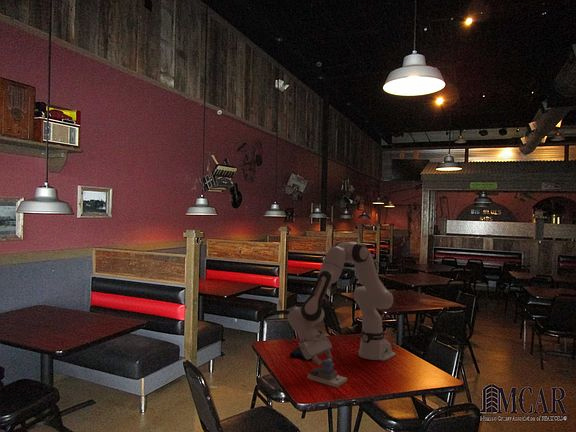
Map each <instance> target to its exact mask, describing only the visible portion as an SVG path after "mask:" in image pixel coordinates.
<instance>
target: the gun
mask: <svg viewBox="0 0 576 432" xmlns="http://www.w3.org/2000/svg"><path fill="white" fill-rule="evenodd" d="M289 354H290V355H289V356H290V358H297V359H300V360H303V361H307V362H311V361H313V359H312V358H311V359H308V360H307V359H306V358H305V357H304V355H303V353H302V351H301V349H300V346H298V347H296V348H295V349H294V350H293V351H292V352H290V353H289Z"/></svg>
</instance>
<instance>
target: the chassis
mask: <svg viewBox="0 0 576 432" xmlns="http://www.w3.org/2000/svg"><path fill="white" fill-rule="evenodd" d="M306 378H307V380H311V381H314V382H317V383H321V384H324V385H328V386H330V387H334V388H338V387H341V386H342V385H343V384H344V383H347V382H348V377H345V376H342V375H339V374H338V371H337V370H334V369H333V373H331V374H328V373H324V372H322V367H315V368H313V369H310V373H309V374H307V377H306Z"/></svg>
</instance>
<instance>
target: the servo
mask: <svg viewBox="0 0 576 432" xmlns="http://www.w3.org/2000/svg"><path fill="white" fill-rule="evenodd" d="M321 361H322V364H321V368H322V372H324V373H328V374H331V373H333V370H334V366H335V363H334V361H333V360H332V359H328V358H327V359H326V358H325V359H323V360H321Z"/></svg>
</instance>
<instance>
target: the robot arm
mask: <svg viewBox="0 0 576 432" xmlns="http://www.w3.org/2000/svg"><path fill="white" fill-rule="evenodd" d="M346 263H353V265H354V270H355V273H356V277H357V281H358V282H359V284H361V285H362V286H357V287H356V288H355V289H354V291H353V296H352V297H353V299H354V301H355V302H356V304H357V305H358V307H359V310H360V314H361V319H362V321H361V323H362V325H361V326H362V327H361V328H362V329H361V339H360V344H359V349H358V356H359V357H360V358H363V359H366V360H371V361H387V360H389V359H391V358H393V357H395V356H396V355H397V353H396V352H394V351H393V349H392V344H391V342H389V341H388V339H386V338H385V337H386V336H387V335H388V332H387V331H383V317H382V315H380V314H379V312H378V311H377V309H379V310H387V309H390V308H392V306H393V304H394V296H393V294H392V292H391V291H389V289H387V288H386V286H385V285H384V284H383V282H382V281H381V280H380V278H379V275H378V272H377V268H376V266H375V261H374V257H373V255H372V253H371V251H370V250H369V248H368V246H367V245H366V244H364V243H361V242H354V241H346V242H345V241H344V242H343V241H341V242H337V243H335V244H334V245H333V246H331V247H329V249H328V251H327V252H326V255H325V256H324V258H323V261H322V264H321V266H320V268H319V272H318V276H317V279H316V281H315V284H314V286H313V289H312V291H311V292H310V295H309V297H308V298H307V299H306V300H305V301H304V302H303V303H302V305H301V306H295V307H293V308H292V309H291V310H290V311H289V312H288V314H287V320H288V323H289V324H290V326H291V328H292V329H293V331H294V332H295V333H296V335H297V337H298V339H299V341H298V347H300V349H301V351H302V353H303V355H304V357H305V358H306V359H307V360H308V359H311V358H312V361H313V362H315V363H316V364H317V365H318V366H322V361H323V360H322V359H319V358H318V356H320V355H322V354H325V355H326V358H327V359H331V360H332V359H333V356H332V353H331V351H330V350H331V349H333V345H332V342H331V341H330V340H329V338H328V337H327V336H326V335H325V333H324V331H323V330H322V329H316V328H314V326H315V325H317V324H320V323H321V322H322V321H323V320H324V318H325V315H326V314H325V310H324V308H323V307H322V302H323V300H324V297H325V295H326V293H327V290H328V288H329V287H330V285H332V284H335V283H336V282H337V281H339V278H340V276H341V274H342V272H343V270H344V267H345V264H346ZM307 360H306V361H307Z"/></svg>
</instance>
